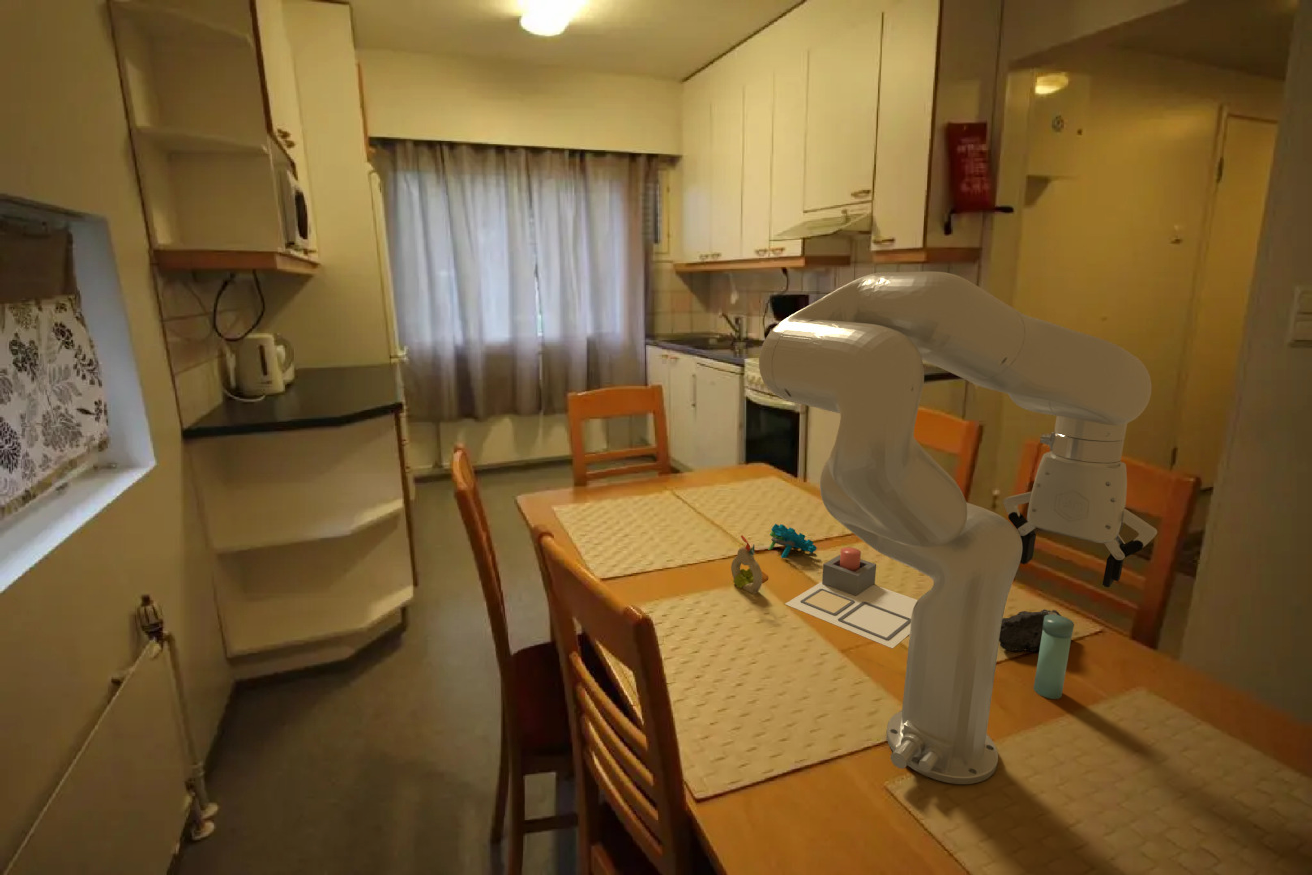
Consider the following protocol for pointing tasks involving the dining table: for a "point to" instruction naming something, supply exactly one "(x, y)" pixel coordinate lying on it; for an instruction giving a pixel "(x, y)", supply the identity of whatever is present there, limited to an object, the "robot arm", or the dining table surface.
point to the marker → (1053, 656)
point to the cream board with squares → (860, 611)
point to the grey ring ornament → (750, 577)
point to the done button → (850, 558)
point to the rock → (1023, 630)
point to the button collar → (849, 576)
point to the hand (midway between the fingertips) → (1065, 572)
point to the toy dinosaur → (790, 540)
